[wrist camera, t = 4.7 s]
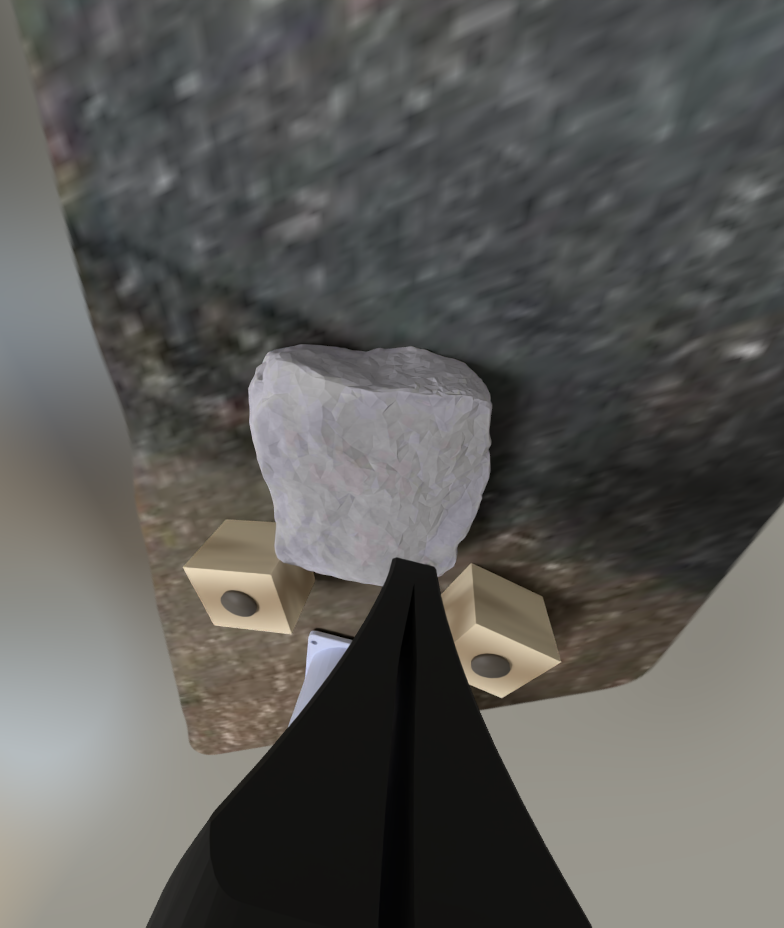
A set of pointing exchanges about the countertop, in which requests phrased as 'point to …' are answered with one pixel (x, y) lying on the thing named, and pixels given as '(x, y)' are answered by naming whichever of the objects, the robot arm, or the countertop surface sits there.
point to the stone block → (370, 456)
